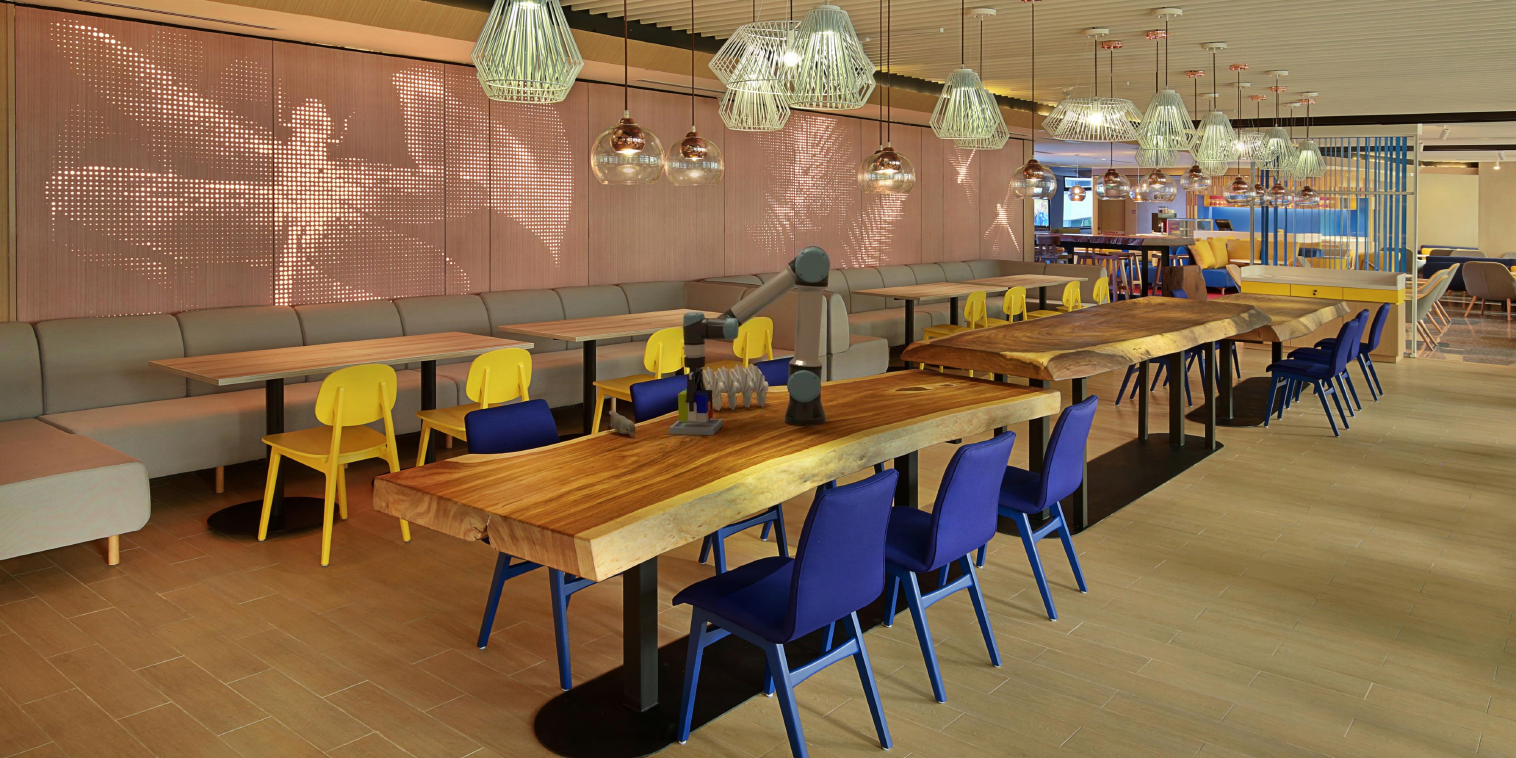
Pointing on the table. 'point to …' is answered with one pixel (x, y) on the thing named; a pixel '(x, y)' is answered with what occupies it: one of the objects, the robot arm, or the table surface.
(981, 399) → the table surface
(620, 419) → the decorative bird
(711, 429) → the tray
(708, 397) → the puzzle toy
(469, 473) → the table surface
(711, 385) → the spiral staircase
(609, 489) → the table surface
